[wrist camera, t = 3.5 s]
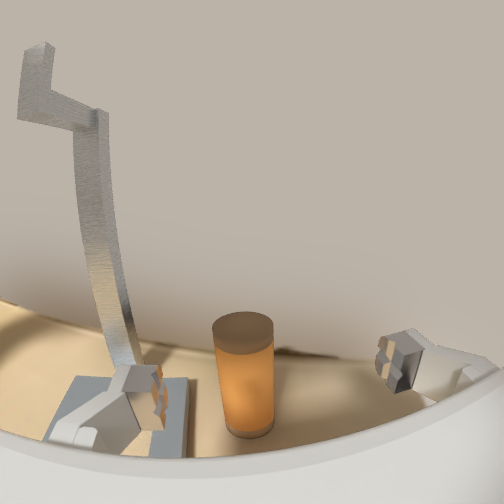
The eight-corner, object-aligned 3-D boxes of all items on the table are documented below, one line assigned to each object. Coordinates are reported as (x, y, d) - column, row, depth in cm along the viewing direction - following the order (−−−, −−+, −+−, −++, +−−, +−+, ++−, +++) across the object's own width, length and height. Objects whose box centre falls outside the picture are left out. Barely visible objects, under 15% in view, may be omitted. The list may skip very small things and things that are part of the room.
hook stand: (101, 448, 22) (19, 53, 12) (126, 373, 35) (85, 89, 25) (128, 451, 22) (51, 39, 12) (147, 373, 35) (109, 83, 25)
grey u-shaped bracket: (45, 465, 17) (35, 454, 17) (81, 387, 31) (76, 375, 30) (185, 486, 19) (180, 476, 18) (190, 389, 32) (187, 377, 32)
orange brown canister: (227, 440, 24) (212, 344, 21) (224, 407, 29) (212, 314, 26) (277, 435, 25) (278, 338, 22) (269, 402, 30) (267, 309, 26)
